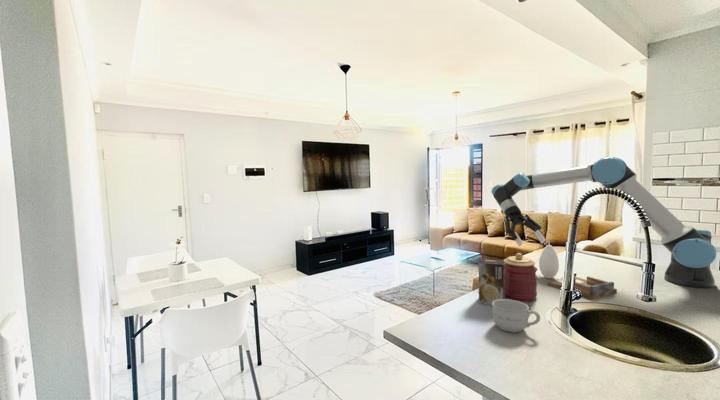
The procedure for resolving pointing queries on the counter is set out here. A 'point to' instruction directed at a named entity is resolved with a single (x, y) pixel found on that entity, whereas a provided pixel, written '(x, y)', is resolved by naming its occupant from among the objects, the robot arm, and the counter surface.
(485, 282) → the coffee box
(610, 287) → the guide board
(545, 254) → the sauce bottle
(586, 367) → the counter surface
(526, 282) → the canister
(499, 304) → the teacup
